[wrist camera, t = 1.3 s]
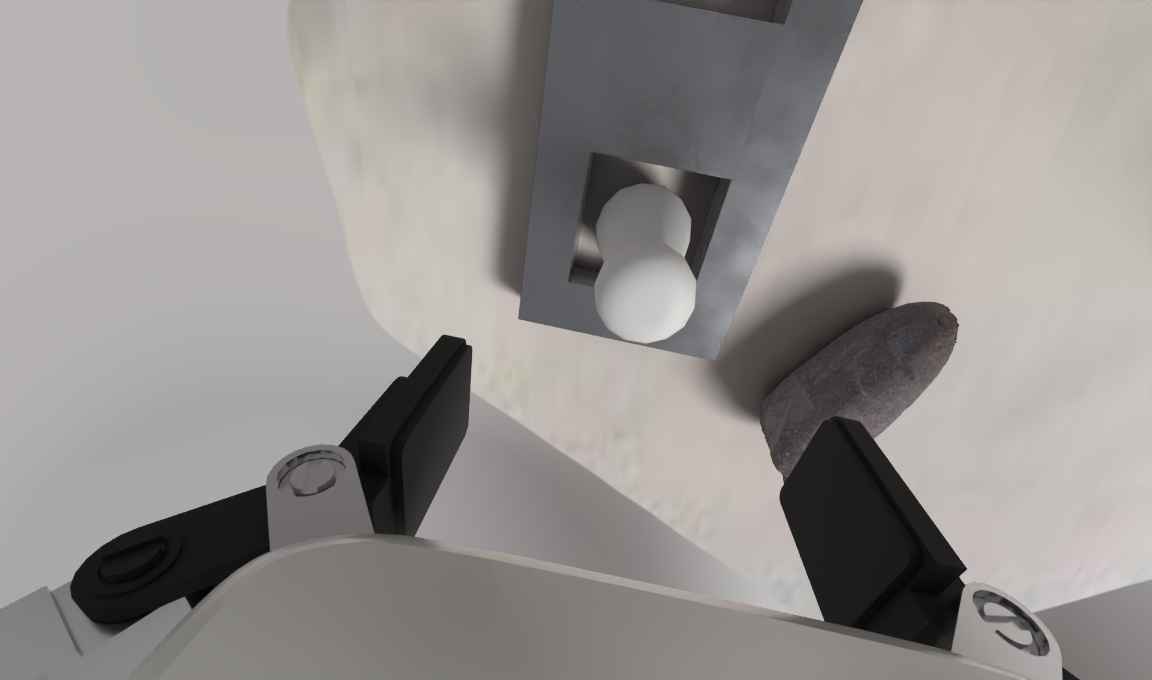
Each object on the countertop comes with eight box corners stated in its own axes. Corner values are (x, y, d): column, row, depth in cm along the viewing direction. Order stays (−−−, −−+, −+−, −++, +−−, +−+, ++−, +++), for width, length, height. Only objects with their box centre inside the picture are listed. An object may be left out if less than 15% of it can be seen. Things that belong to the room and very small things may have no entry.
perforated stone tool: (894, 267, 28) (965, 314, 22) (947, 311, 28) (1030, 368, 22) (728, 407, 35) (746, 471, 29) (775, 438, 36) (802, 507, 30)
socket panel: (961, -311, 16) (1028, -396, 14) (709, 339, 32) (716, 363, 29) (609, -370, 17) (603, -465, 14) (527, 301, 32) (517, 320, 29)
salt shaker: (596, 179, 27) (566, 237, 16) (688, 172, 26) (724, 227, 15) (602, 266, 30) (580, 367, 19) (685, 262, 29) (714, 365, 18)
